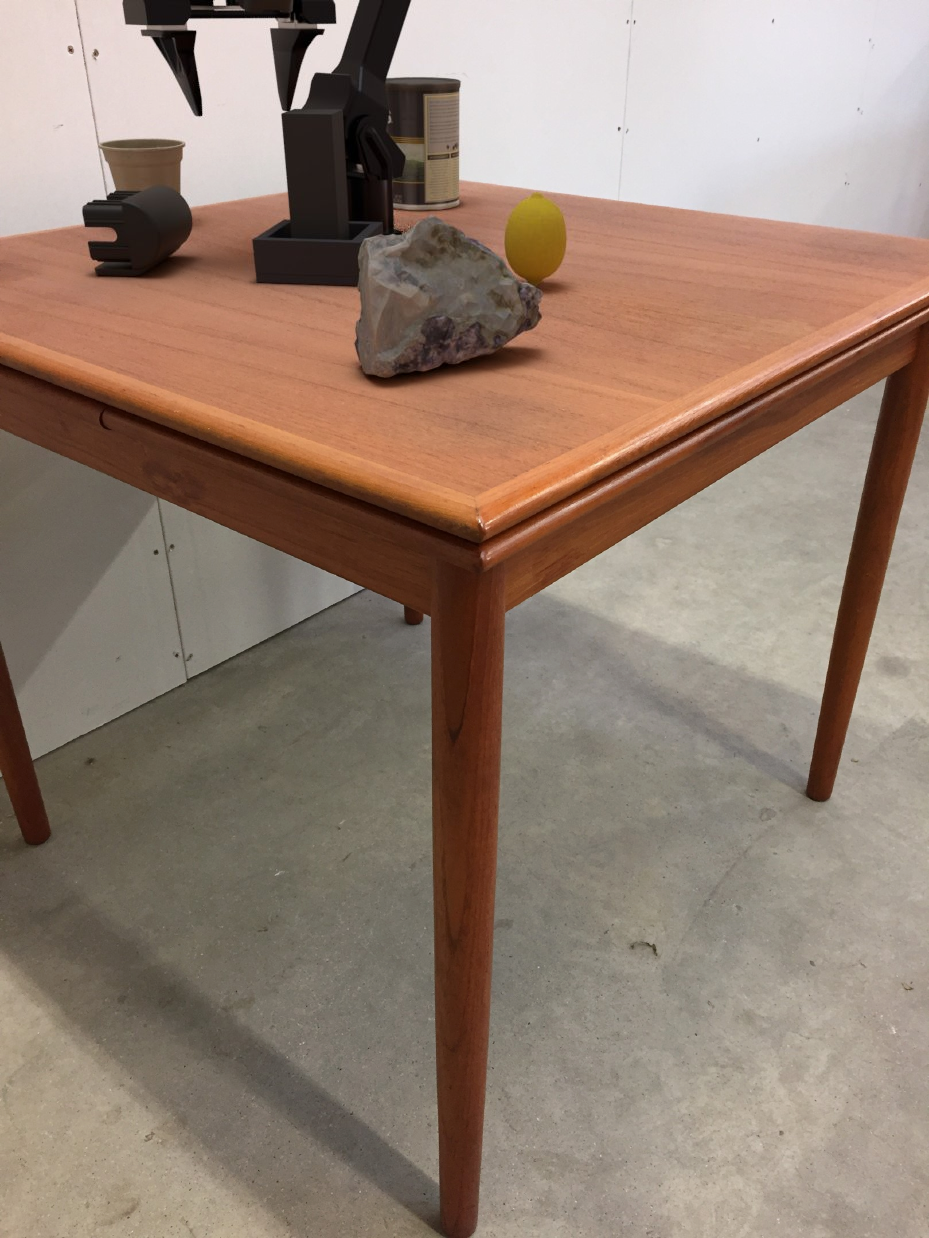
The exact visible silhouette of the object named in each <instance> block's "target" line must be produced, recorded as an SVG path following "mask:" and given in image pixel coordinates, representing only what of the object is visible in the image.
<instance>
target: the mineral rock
mask: <svg viewBox="0 0 929 1238" xmlns="http://www.w3.org/2000/svg"><path fill="white" fill-rule="evenodd" d="M358 263H359V269H360V273H359V282H358V286H356V287H357V289H356V290H357V291H358V292H359V298H360V299H359V301H360V315H359V319H358V320H357V321H356V322H355V328H354V331H355V337H356V339H355V341H354V343H353V344H354V348H355V352H356V355H357V358H358V361H359V363H360V364H361V368H362V371H363V372H364V373H365V375H371V376H378V377H380V378H390V377H393V376H396V375H401V374H408V373H413V372H415V371H418V372H427V371H430V370H433V369H436V368H438V367H440V366H441V365H443V364H444V363H445V364H448V365H456V364H460V363H461V362H463V361H469V360H470V359H472V358H476V357H479V356H481V357H482V356H488V355H492V354H494V353H496V352H497V351H499V349H501V348H503V347H504V346H506V345H508V344H509V342H511V341H512V340H513V339H515V338H517V337H518V336H519V335H521V334H522V333H524V332H528V331H532V330H533V329H535V328H536V327H537V326H538V325H539V323H540V321H541V320H542V319H543V315H542V314H541V312H540V311H539V310H540V305H539V304H540V303H541V302H542V298H543V296H544V292H543V291H542V289H541V288H540V289H539V288H538V287H537V286H532V285H531V284H529V283H528V282H521V281H520V280H519V279H518V278H517V277H516V276H515V275H514V274H513V273H512V271H511V270H510V269H509V268H508V266H507V263H506V261H505V259H504V258H503V257H501V256H499V255H498V254H497V253H495V252H494V251H493V250H492V249H491V248H489V247H487V246H486V245H485V244H484V243H483V242H481V241H479V240H477V239H475V238H472V237H470V236H467V235H466V233H465V232H464V231H462V230H461V229H459V228H457V227H456V226H454V225H451V224H449V223H448V224H447V223H446V222H445V221H444V220H442V219H441V218H439V217H437V216H435V215H428V217H427V218H425V219H420V220H418V221H417V222H416V223H415V224H414V225H413V226H411V228H409V229H408V230H407V231H405V233H402V235H394V234H392V235H387V236H384V235H377V236H374V237H370V238H366V239H364V240H363V242H362V245H361V247H360V251H359V256H358Z"/></svg>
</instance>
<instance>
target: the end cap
mask: <svg viewBox="0 0 929 1238" xmlns="http://www.w3.org/2000/svg"><path fill="white" fill-rule="evenodd" d="M105 198H106V199H93V200H92V201H87V202H86V204H84V205H82V209H81V213H82V219H83V225H84V228H110V229H112V230H113V231H114V232H115V234H116V238H115V240H111V241H109V240H103V241H102V240H88V241H87V245H88V251H89V256H90V259H91V260H92V261H97V262H98V263H100V264H98V265H97V266H95V267H94V273H95V275H96V276H100V277H101V276H103V277H137V276H141V275H143V274H145V273H146V272H148V271H150V270H151V269H152V268H154V267H155V266H157V265H158V264H160V263H162V262H163V261H164V260H166V259H168V258H169V257H171V256H172V255H174V254H175V253H176V252H177V251H178V250H179V249H180V248H181V247H182V245H183V244H184V243H186V241H187V240H188V239H189V237H190V236H191V233H192V230H193V224H194V223H193V215H192V210H191V208H190V205H189V203H188V202H187V200H186V199H185V197H184V196H183V195H182V193H181V194H180V193H178V192H177V191H176V190H174V189H173V188H171V187H168V186H165V185H160V184H157V185H155V186H152V187H150V188H148V189H146V190H143V191H118V190H116V189H115V190H114V191H113V192H109V194H107V195H105Z"/></svg>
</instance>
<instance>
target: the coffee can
mask: <svg viewBox="0 0 929 1238" xmlns="http://www.w3.org/2000/svg"><path fill="white" fill-rule="evenodd" d="M461 83H462V81H461V80H460V79H457V78H451V77H450V78H449V77H433V76H431V77H429V76H401V77H400V76H399V77H387V78H386V83H385V85H386V91H387V98H388V104H389V119H388V124H387V129H386V131H387V133H388V134H389V135H390V137H391V138H392V139H393V140H394V142H395V143H396V144H397V145H398V147H399V148H400V149H401V151H402V152H403V153H404V154H405V156H406V160H405V165H404V170H403V174H402V177H398V178H394V179H393V210H398V211H399V210H400V211H411V212H412V211H416V212H429V211H441V210H447V209H452V208H455V207H458V206H459V205H460V204H461V203H460V91H461V90H460V89H461V86H462V85H461Z"/></svg>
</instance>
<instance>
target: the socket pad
mask: <svg viewBox="0 0 929 1238" xmlns="http://www.w3.org/2000/svg"><path fill="white" fill-rule="evenodd" d="M349 235H350V240H329V239H296V238H292V237H291V225H290V219H289V218H287V219H282V220H281V221H279V222H278V223H276V224H275V225H273V226H271V227H270V228H268V229H266V230H265V231H263V232H262V233H260V234H258V235H257V236H255V237H254V238H252V240H251V242H252V243H251V244H252V252H253V261H254V262H253V263H254V271H255V281H256V283H262V284H263V283H265V284H268V283H269V284H291V285H292V284H294V285H319V286H321V285H322V286H346V287H349V286H350V287H357V286H358V282H359V273H360V269H359V263H358V256H359V251H360V247H361V245H362V242H363V240H364V239H366V238H370V237H374V236H377V235H383V223H382V222H359V221H349Z"/></svg>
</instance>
